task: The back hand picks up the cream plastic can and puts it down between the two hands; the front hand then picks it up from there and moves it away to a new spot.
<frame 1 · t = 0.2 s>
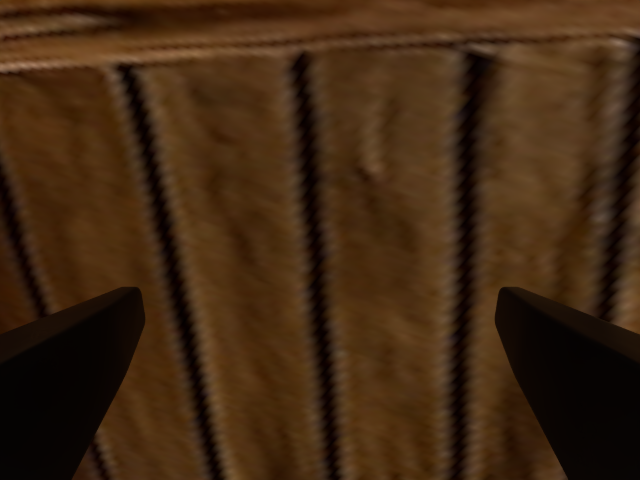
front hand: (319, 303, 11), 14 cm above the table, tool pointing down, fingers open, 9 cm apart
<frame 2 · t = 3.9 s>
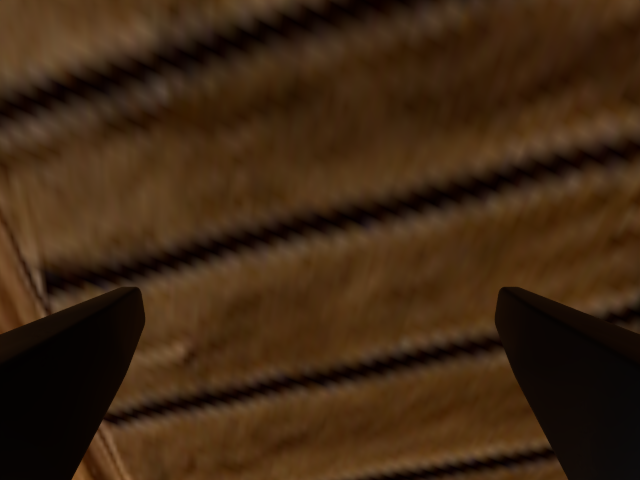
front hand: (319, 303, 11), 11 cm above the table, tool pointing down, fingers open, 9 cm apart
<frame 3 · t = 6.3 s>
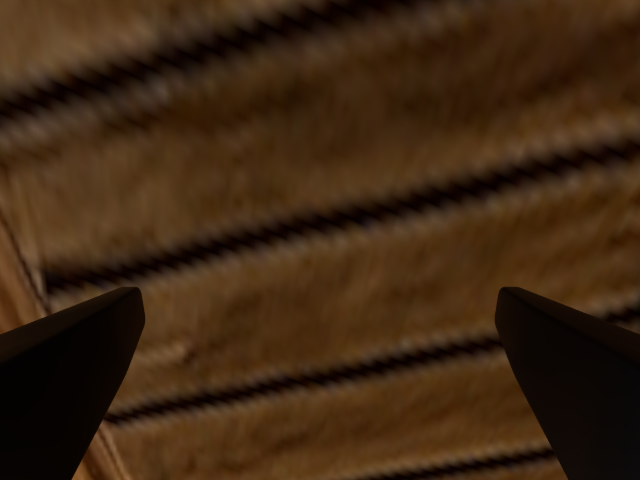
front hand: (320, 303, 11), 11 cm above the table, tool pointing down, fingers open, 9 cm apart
when the back hand's fingers open (2 cm above the table, at t = 8.7 s): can stays where it is, on the table.
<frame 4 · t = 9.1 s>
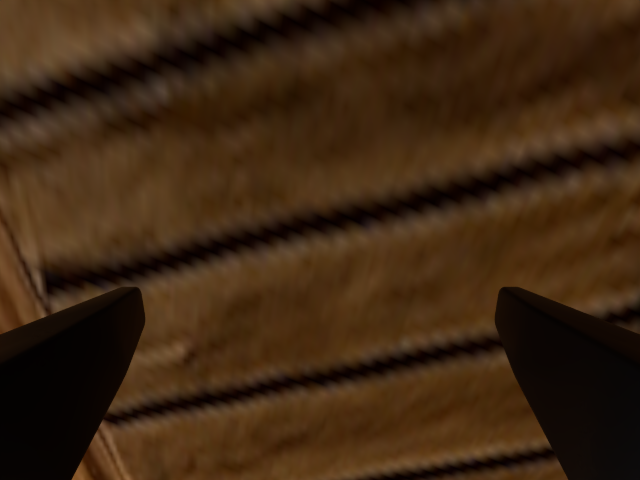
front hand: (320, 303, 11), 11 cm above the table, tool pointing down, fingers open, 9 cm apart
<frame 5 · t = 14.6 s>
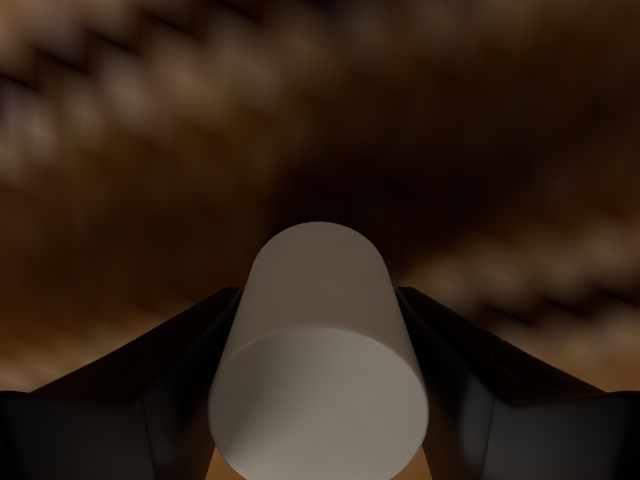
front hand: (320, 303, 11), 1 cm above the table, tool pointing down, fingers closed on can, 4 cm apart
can: (319, 286, 12), on the table, touching front hand
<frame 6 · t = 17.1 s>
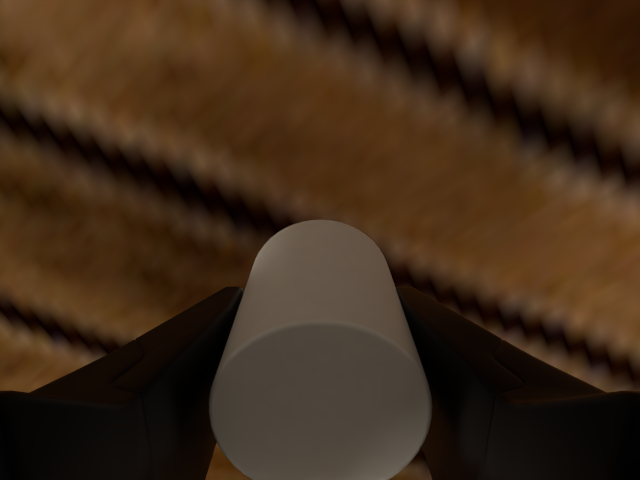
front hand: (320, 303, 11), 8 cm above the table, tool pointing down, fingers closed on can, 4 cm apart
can: (320, 284, 12), point 7 cm above the table, touching front hand
when the front hand's fingers open (2 cm above the table, at t = 19.7 s): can stays where it is, on the table.
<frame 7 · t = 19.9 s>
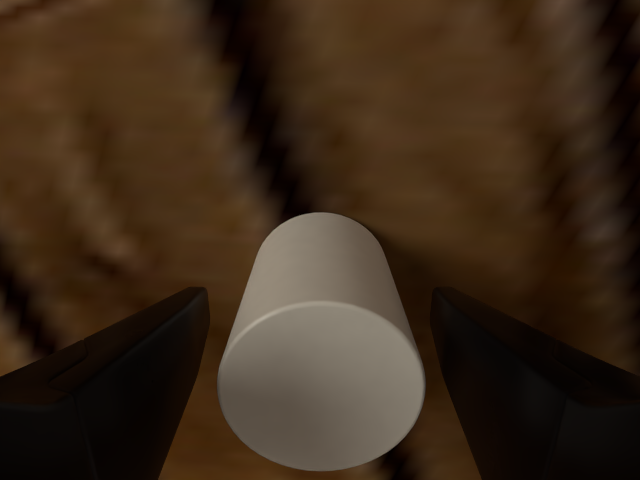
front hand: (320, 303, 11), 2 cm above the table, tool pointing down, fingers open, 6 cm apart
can: (320, 274, 13), on the table
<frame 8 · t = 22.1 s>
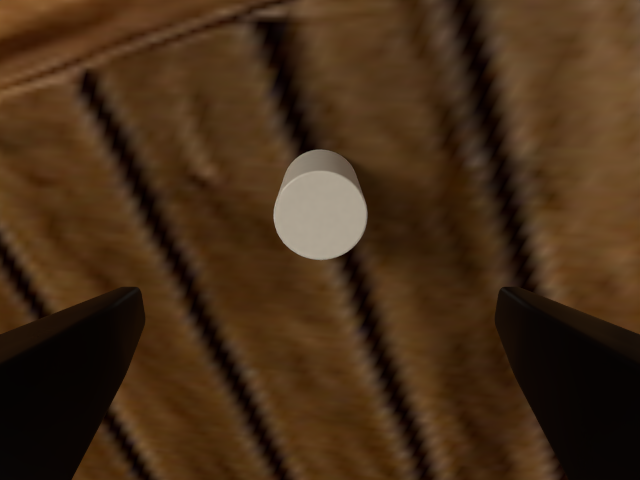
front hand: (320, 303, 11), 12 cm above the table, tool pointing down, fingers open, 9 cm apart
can: (320, 186, 22), on the table
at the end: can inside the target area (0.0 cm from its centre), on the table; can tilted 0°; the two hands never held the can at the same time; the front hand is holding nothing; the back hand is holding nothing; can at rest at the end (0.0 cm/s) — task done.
